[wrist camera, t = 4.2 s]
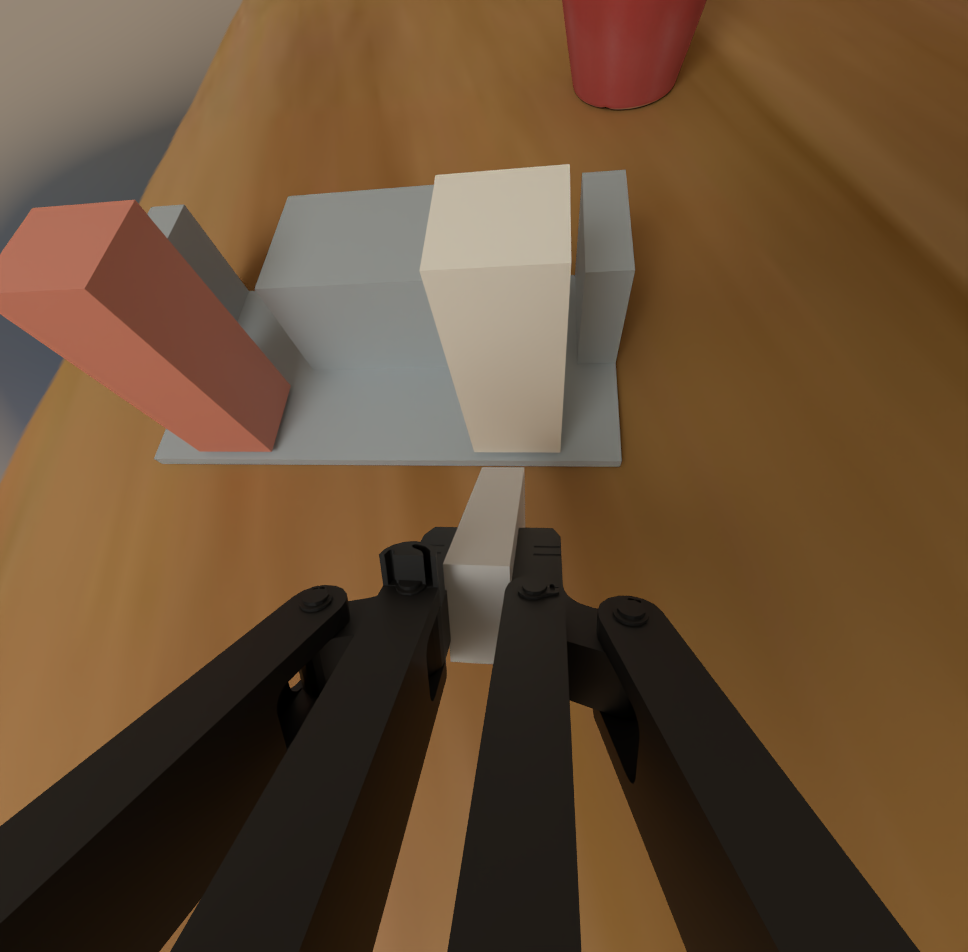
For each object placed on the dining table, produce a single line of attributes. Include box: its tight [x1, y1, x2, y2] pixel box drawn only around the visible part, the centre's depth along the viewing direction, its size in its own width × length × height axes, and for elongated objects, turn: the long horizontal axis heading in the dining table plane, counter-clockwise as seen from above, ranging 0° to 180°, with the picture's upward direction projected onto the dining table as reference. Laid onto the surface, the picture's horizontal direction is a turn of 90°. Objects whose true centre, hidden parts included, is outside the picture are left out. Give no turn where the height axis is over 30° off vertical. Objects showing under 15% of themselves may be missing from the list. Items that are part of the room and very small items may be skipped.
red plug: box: [0, 200, 291, 452], centre depth 21 cm, size 4×4×11 cm
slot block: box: [147, 170, 635, 467], centre depth 24 cm, size 25×12×7 cm, turn 86°
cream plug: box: [419, 164, 571, 453], centre depth 19 cm, size 4×4×11 cm
